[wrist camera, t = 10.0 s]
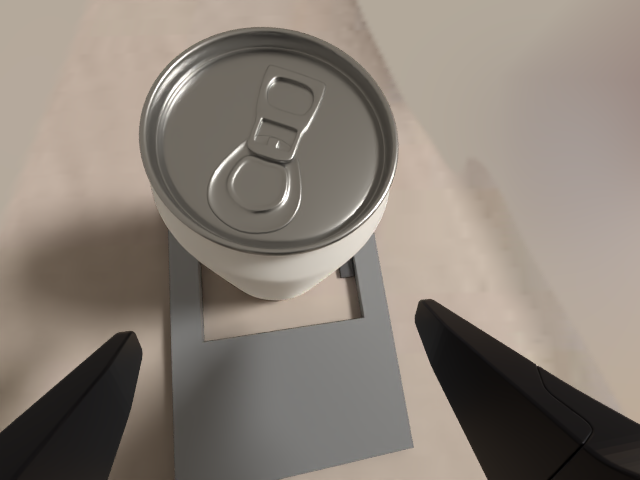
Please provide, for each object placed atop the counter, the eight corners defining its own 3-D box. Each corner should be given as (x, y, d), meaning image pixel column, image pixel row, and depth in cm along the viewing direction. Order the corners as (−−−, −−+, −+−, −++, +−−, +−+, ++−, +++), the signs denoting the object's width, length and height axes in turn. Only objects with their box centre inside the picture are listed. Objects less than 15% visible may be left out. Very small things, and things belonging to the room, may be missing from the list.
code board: (408, 442, 16) (413, 447, 16) (179, 496, 14) (175, 504, 14) (360, 177, 20) (363, 173, 19) (170, 190, 18) (167, 186, 17)
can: (205, 283, 17) (50, 220, 5) (243, 184, 19) (187, -25, 7) (313, 314, 17) (385, 317, 6) (340, 214, 19) (437, 64, 8)
